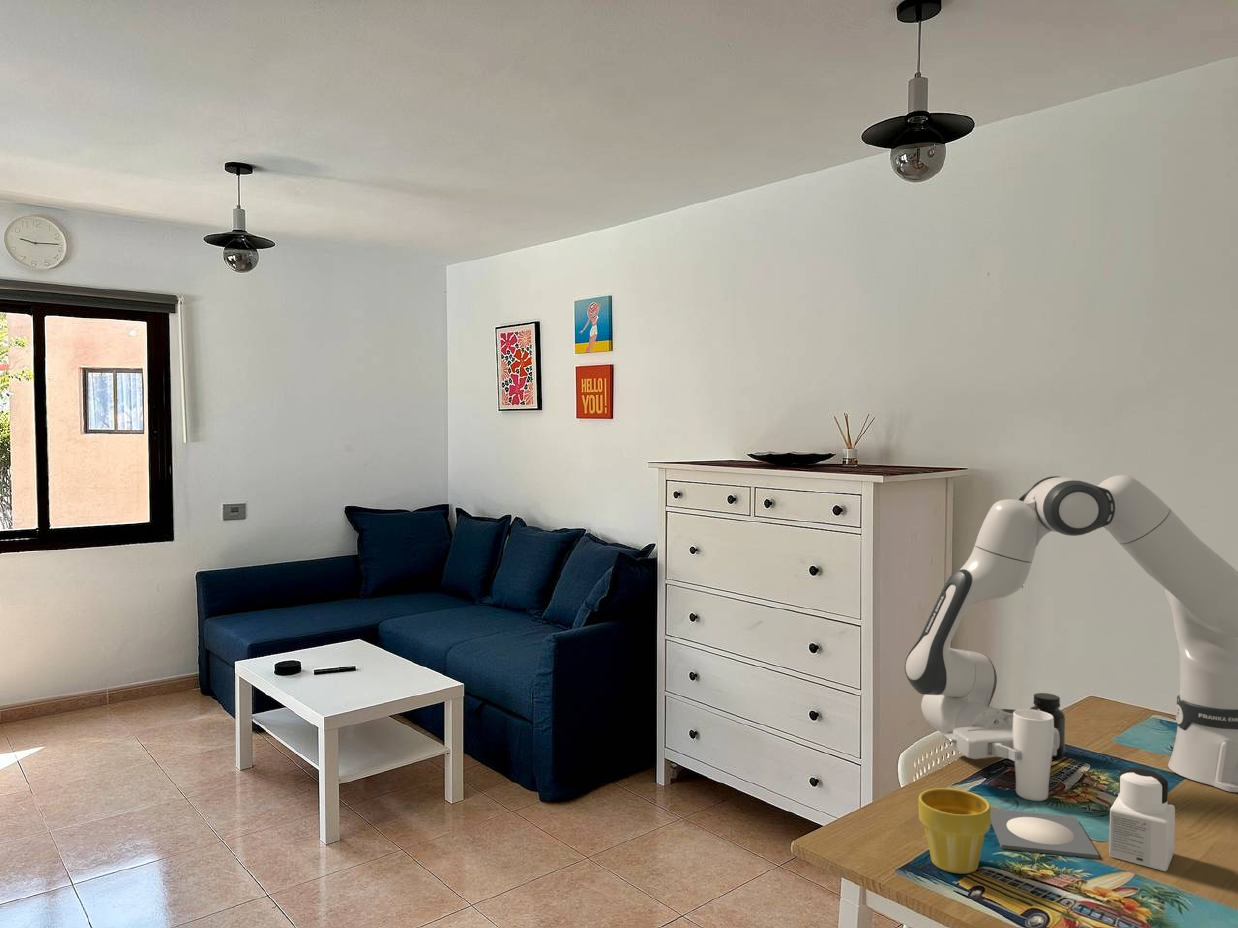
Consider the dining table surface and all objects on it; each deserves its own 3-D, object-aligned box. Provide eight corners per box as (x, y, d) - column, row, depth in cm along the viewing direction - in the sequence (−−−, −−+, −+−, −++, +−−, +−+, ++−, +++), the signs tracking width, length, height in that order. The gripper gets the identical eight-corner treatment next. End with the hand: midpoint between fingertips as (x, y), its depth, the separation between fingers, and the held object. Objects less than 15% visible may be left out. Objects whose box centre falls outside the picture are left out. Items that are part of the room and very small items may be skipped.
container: (1118, 839, 142) (1119, 760, 141) (1174, 853, 137) (1176, 771, 136) (1108, 857, 136) (1110, 774, 135) (1166, 872, 131) (1168, 787, 130)
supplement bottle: (1020, 751, 181) (1021, 694, 181) (1041, 745, 185) (1042, 689, 184) (1050, 762, 175) (1051, 702, 175) (1071, 756, 178) (1072, 698, 178)
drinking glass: (1057, 805, 155) (1059, 721, 154) (1016, 802, 156) (1017, 718, 156) (1046, 790, 161) (1048, 709, 161) (1007, 787, 163) (1008, 707, 162)
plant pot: (903, 855, 136) (903, 793, 136) (953, 842, 140) (954, 782, 140) (953, 886, 127) (954, 819, 127) (1005, 872, 131) (1006, 807, 131)
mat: (1075, 820, 149) (1075, 816, 149) (1099, 858, 135) (1099, 854, 135) (986, 811, 152) (987, 808, 152) (1001, 848, 139) (1001, 844, 138)
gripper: (938, 718, 168) (987, 742, 155) (1027, 709, 173) (1082, 731, 160) (938, 750, 168) (987, 777, 155) (1027, 740, 174) (1081, 765, 160)
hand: (1036, 754), depth 158 cm, fingers closed on drinking glass, 6 cm apart
